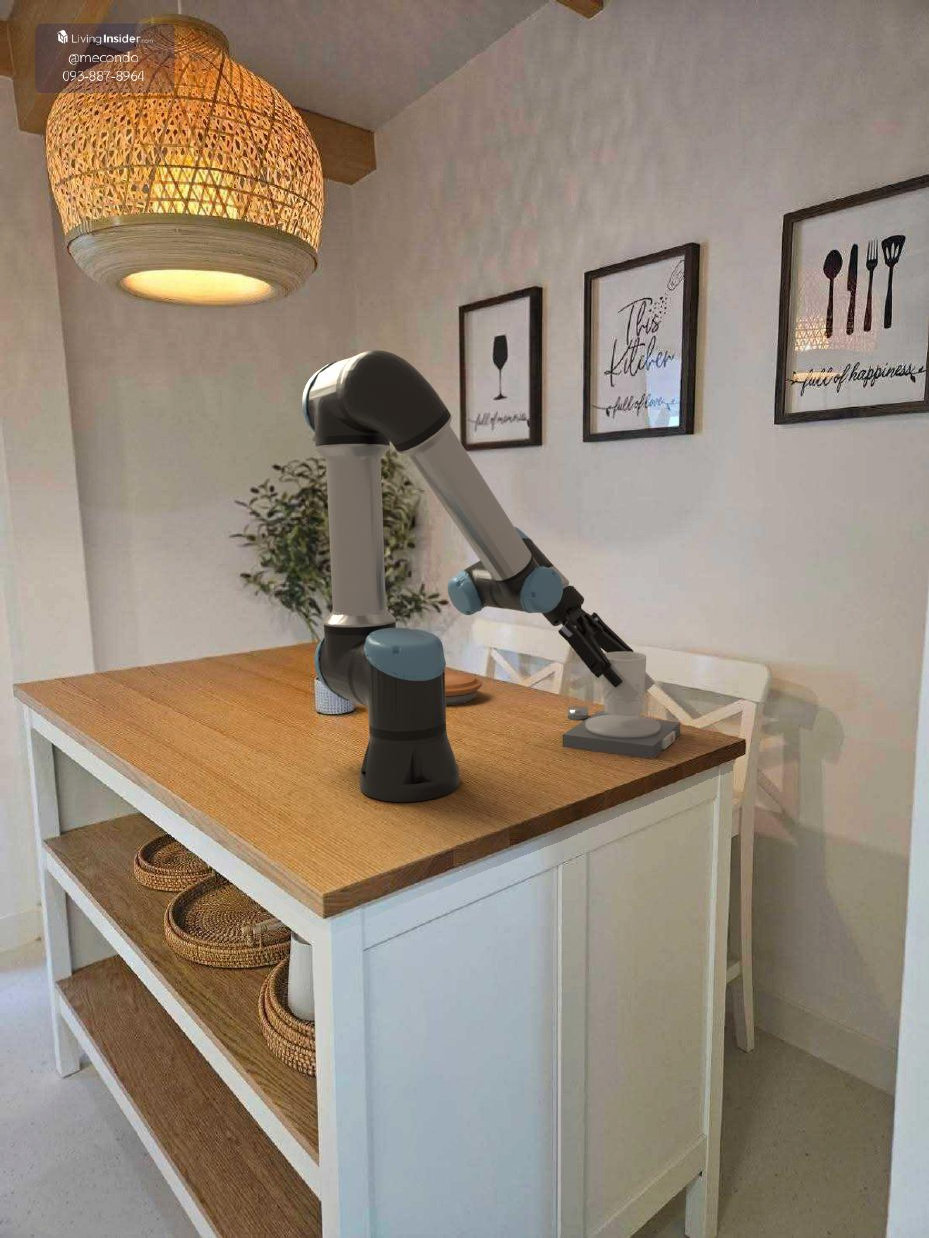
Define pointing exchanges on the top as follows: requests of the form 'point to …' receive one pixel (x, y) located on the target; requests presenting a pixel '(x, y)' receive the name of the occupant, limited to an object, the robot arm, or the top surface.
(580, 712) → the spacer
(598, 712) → the cylinder
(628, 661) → the white cup
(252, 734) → the top surface
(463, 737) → the top surface
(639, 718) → the scale
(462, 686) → the pie
